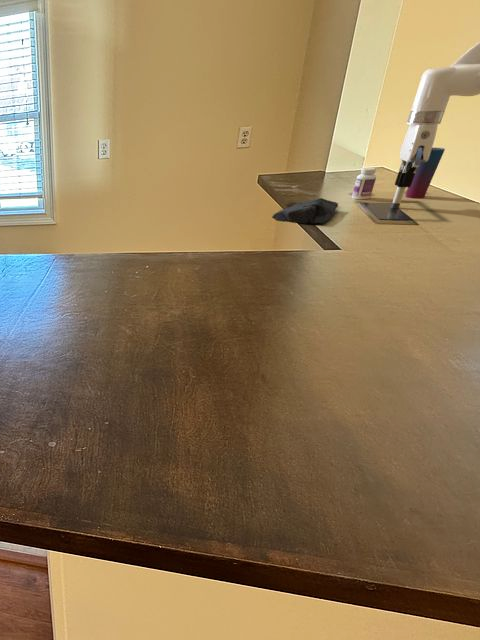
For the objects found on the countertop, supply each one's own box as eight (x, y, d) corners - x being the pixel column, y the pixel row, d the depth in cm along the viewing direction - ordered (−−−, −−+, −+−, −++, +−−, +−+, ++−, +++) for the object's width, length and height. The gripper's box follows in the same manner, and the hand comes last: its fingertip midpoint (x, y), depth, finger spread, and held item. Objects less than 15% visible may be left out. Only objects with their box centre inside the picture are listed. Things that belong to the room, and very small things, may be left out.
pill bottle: (371, 197, 165) (380, 167, 160) (368, 200, 162) (377, 170, 157) (352, 196, 168) (361, 166, 164) (349, 199, 165) (358, 169, 160)
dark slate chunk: (345, 211, 152) (350, 195, 150) (323, 226, 139) (328, 210, 137) (293, 206, 162) (296, 191, 159) (268, 220, 149) (271, 204, 147)
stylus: (397, 207, 148) (411, 165, 142) (399, 208, 146) (413, 166, 140) (389, 206, 148) (403, 165, 143) (391, 208, 147) (405, 167, 141)
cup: (431, 196, 161) (448, 148, 153) (422, 199, 158) (440, 150, 150) (406, 193, 166) (422, 147, 158) (398, 197, 163) (414, 149, 155)
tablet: (416, 205, 152) (418, 202, 151) (444, 225, 133) (446, 221, 132) (357, 205, 157) (358, 201, 157) (375, 223, 138) (376, 219, 138)
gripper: (452, 119, 127) (426, 191, 137) (432, 115, 140) (409, 181, 149) (417, 121, 130) (394, 191, 139) (400, 116, 143) (380, 181, 152)
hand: (402, 185), depth 144 cm, fingers closed on stylus, 2 cm apart
